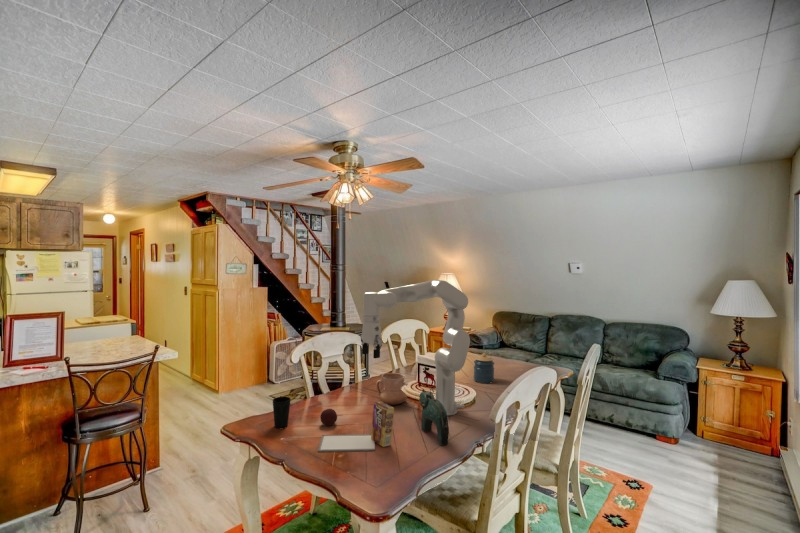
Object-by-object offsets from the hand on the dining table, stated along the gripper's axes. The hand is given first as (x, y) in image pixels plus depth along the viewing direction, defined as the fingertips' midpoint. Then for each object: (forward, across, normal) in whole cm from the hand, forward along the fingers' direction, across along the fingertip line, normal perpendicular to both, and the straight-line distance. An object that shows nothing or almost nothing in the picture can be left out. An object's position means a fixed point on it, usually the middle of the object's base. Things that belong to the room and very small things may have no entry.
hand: (370, 355), depth 182 cm
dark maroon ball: (+31, +8, +17) cm, 36 cm away
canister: (+31, +15, -96) cm, 102 cm away
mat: (+31, -13, +19) cm, 38 cm away
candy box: (+31, -20, +8) cm, 38 cm away
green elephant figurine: (+31, -28, -14) cm, 44 cm away
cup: (+31, +18, +35) cm, 50 cm away
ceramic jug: (+31, +16, -24) cm, 42 cm away
